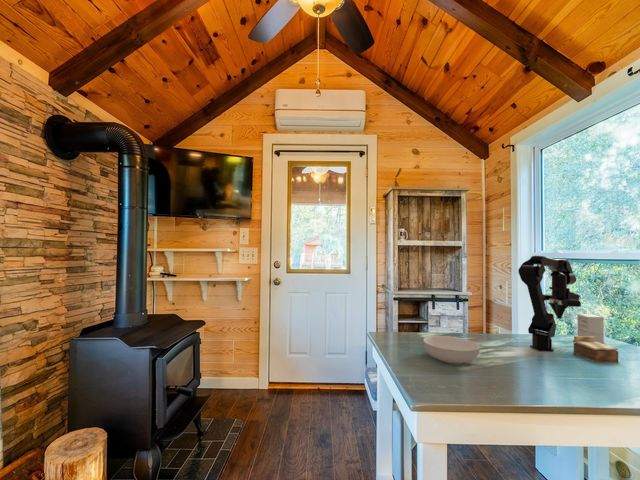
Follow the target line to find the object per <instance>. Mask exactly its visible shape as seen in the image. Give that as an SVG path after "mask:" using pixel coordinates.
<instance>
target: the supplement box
mask: <svg viewBox="0 0 640 480" xmlns="http://www.w3.org/2000/svg"><path fill="white" fill-rule="evenodd" d="M576 316H577V317H576V318H577V321H576V323H577V336H593V337H595V341H596V342H599V343H602V344H605V343H604V342H605V341H604V340H605V339H604V338H605V337H604V335H605V332H604V330H605V329H604V317H603V316H601V315H597V314H591V313H589V314H587V313H577V314H576Z"/></svg>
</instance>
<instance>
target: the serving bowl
mask: <svg viewBox="0 0 640 480" xmlns="http://www.w3.org/2000/svg"><path fill="white" fill-rule="evenodd" d="M422 342H423V347H424V349H425V351H426V352H427V353H428V354H429V356H431V357H433V358H434V359H436V360H439V361H441V362H445V363H449V364H465V363H469V362H470V363H471V362H472V361H474V360H475V359H476V358H477V357H478V356H479V353H480V352H481V351H480V349H481V346H480V344H478V343H477V342H474V341H472V340H469V339H465V338H461V337H455V336H449V335H430V336H429V335H428V336H426V337H424V338H423V341H422Z"/></svg>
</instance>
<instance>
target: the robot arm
mask: <svg viewBox="0 0 640 480" xmlns="http://www.w3.org/2000/svg"><path fill="white" fill-rule="evenodd" d="M546 268H547V269H549V271H551V273H550V274H549V275H550V277H551V286H549V289H550V290H551V294H543V289H542V285H541V282H542V280H543V278H544V274H545V272H546ZM518 276H519V277H520V280H521V281H522V282H523V283H524V284H525V285H526V286H527V291H528V293H529V297H530V298H529V299H530V302H531V306H532V310H533V313H534V315H533V316H532V318H531V323H530V324H529V327H528V328H527V331H528V334H530V335H532V336H531V338H532V340H531V341H532V342H531V343H532V344H531V345H529V347H530V348H532V349H534V350H537V351H539V352H554V351H555V350H554V349H553V347H552V346H553V344H552V343H553V342H552V338H554V337H555V335H556V330H557V325H556V321H555V317H554V314H555V316H556V318H557V319H558V320H561V319H562V317H563V315H564V312H565V311H566V309H567V308H568V307H569V308H570V307H575V308H577V307H578V308H581V307H582V302H581V301H580V298H581V295H580V294H577V293H575V292H572V291H571V290H570V288H569V287H568V286H570V285H574V284H575V283H576V281H577V277H576V275H575V274H574V270H573V268H572V266H571V263H570V262H569V260H568V259H566V258H564V259H563V258H551V257H548V256H547V257H546V256H544V255H532V256H531V257H530V258H529V259H528V260H526V261H524V262H522V264H521V265H520V267H519V268H518ZM546 301H549V302H548V305H549V306H550V307H551V309H552V310H553V313H554V314H553V313H550V312H548V310H547V306H546V303H545V302H546Z"/></svg>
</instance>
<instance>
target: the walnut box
mask: <svg viewBox="0 0 640 480" xmlns="http://www.w3.org/2000/svg"><path fill="white" fill-rule="evenodd" d="M573 353H574V354H575V355H578V356H580V357H582V358H585V359H588V360H589V361H592V362H595V363H619V351H618V350H593V349H591V348H588V347H585V346H583V345H580V344H577V343H574V342H573Z"/></svg>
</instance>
